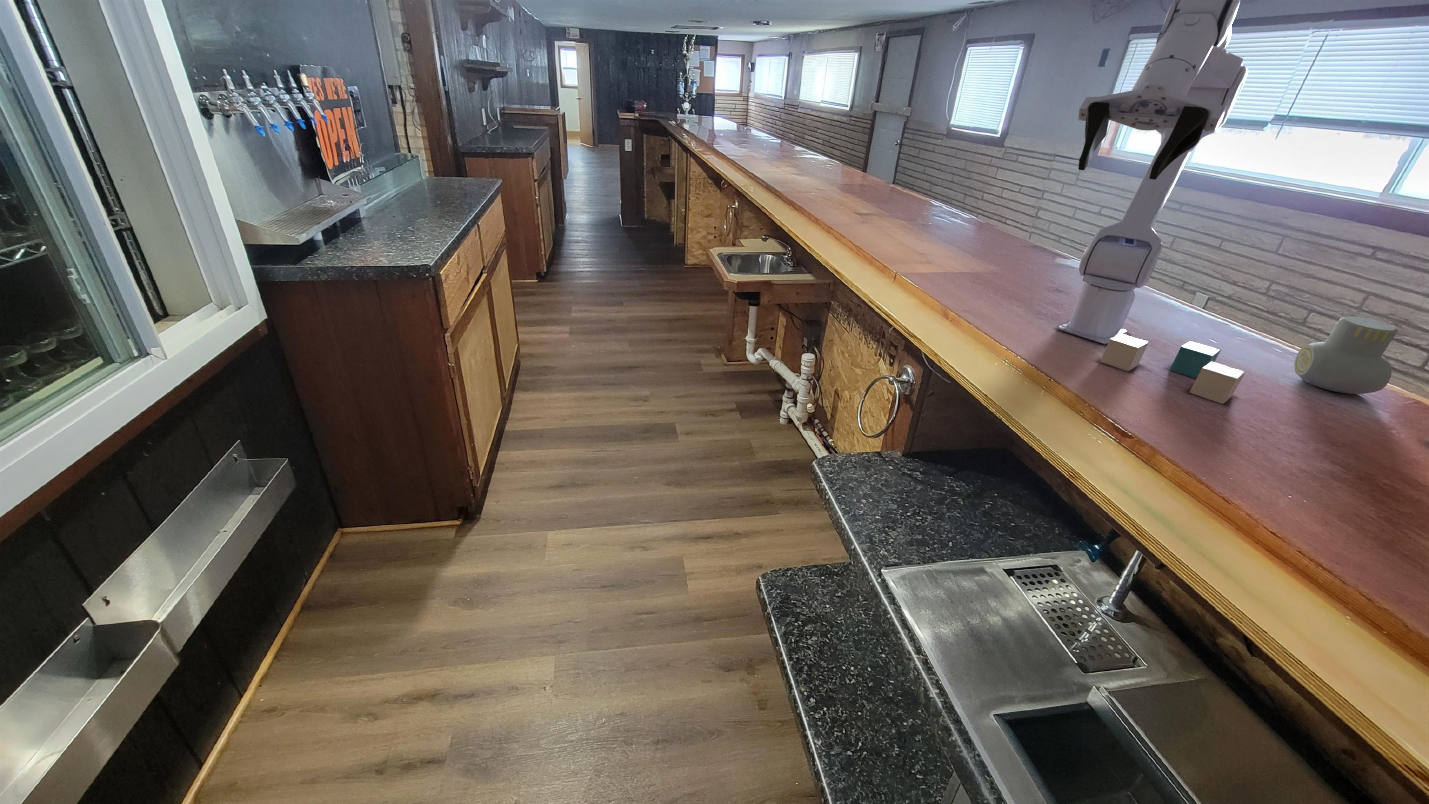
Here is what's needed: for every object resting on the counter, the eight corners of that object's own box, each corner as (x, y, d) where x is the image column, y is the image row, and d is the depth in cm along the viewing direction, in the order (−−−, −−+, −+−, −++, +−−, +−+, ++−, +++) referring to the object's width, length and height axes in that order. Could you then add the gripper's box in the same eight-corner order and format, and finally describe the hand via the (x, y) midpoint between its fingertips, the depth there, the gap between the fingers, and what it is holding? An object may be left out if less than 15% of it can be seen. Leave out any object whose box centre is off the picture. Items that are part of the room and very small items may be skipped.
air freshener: (1378, 408, 79) (1425, 342, 74) (1300, 391, 83) (1341, 327, 78) (1354, 379, 87) (1396, 318, 82) (1285, 365, 91) (1321, 306, 86)
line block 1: (1110, 356, 91) (1120, 333, 89) (1138, 365, 89) (1148, 342, 87) (1100, 361, 89) (1109, 338, 87) (1127, 371, 86) (1138, 347, 84)
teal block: (1178, 363, 90) (1190, 340, 88) (1208, 373, 87) (1221, 349, 85) (1169, 369, 87) (1181, 346, 86) (1200, 380, 85) (1212, 355, 83)
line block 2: (1198, 385, 83) (1211, 361, 81) (1231, 396, 80) (1245, 371, 78) (1189, 392, 81) (1202, 367, 79) (1222, 404, 78) (1237, 378, 76)
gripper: (1104, 48, 70) (1053, 138, 69) (1252, 51, 62) (1197, 153, 61) (1098, 93, 76) (1052, 177, 75) (1233, 101, 68) (1183, 195, 67)
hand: (1116, 169), depth 68 cm, fingers open, 7 cm apart
